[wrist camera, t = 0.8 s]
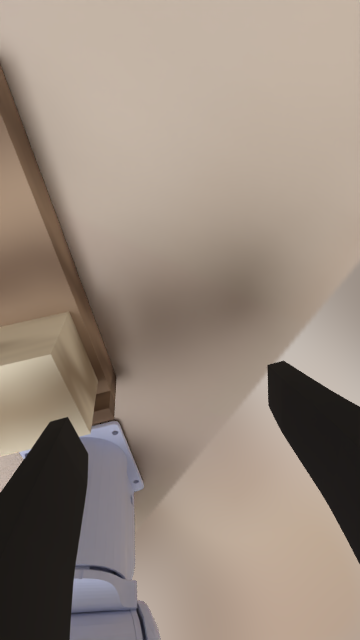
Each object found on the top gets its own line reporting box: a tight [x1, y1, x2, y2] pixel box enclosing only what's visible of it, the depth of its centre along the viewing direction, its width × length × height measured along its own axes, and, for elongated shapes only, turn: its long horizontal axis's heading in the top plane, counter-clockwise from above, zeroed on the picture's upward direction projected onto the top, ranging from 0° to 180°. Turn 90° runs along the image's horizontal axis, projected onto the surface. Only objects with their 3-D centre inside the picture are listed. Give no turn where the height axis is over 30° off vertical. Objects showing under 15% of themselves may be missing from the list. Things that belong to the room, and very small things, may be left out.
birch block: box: [0, 312, 98, 457], centre depth 14 cm, size 5×5×4 cm
